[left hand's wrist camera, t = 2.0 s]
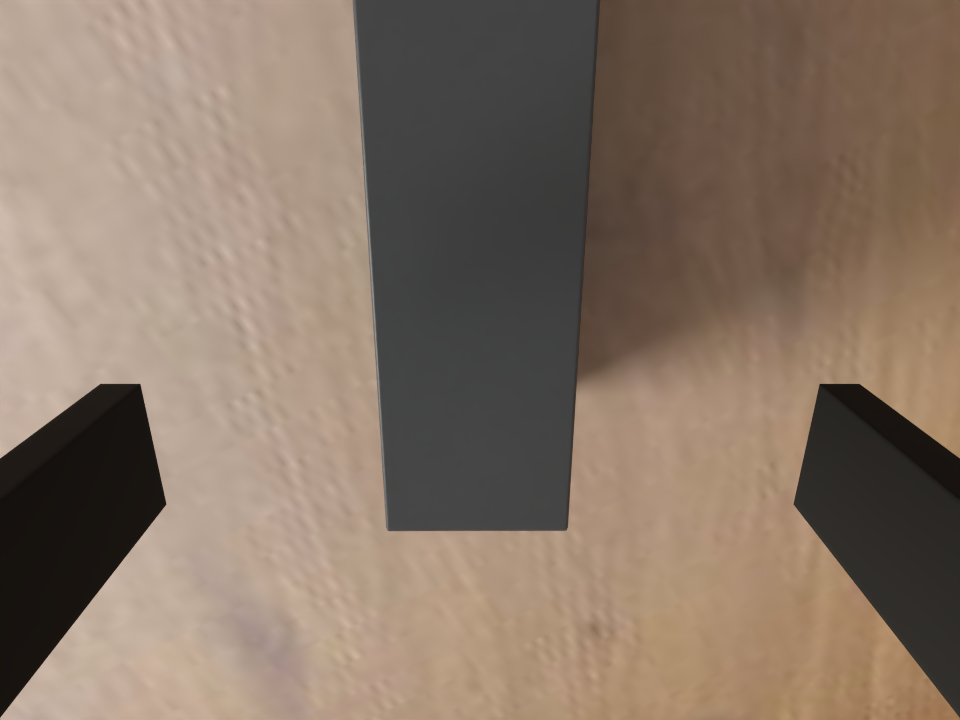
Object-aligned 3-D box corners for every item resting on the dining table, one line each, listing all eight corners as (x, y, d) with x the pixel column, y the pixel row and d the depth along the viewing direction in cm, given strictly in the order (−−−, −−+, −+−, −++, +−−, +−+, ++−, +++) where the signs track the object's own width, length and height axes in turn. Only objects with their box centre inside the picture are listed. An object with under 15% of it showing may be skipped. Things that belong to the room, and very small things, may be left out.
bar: (539, 397, 26) (568, 532, 18) (415, 397, 26) (386, 532, 18) (574, -508, 16) (669, -1116, 8) (378, -509, 16) (280, -1119, 8)
